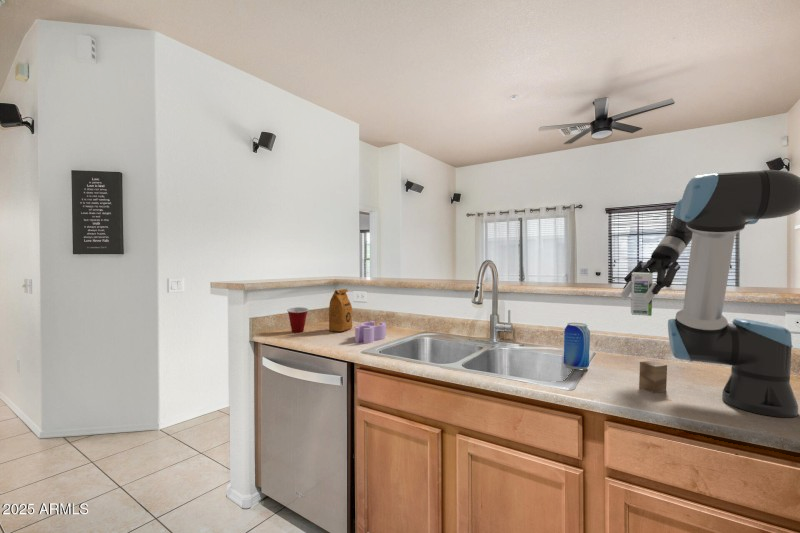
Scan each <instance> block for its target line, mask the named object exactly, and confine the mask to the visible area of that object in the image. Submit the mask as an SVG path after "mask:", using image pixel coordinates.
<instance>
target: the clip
mask: <svg viewBox="0 0 800 533" xmlns="http://www.w3.org/2000/svg"><path fill="white" fill-rule="evenodd" d="M354 328H355V332H354V336H355V337H354V340H355V341H354V343H356V344H359V343H360V342H361V341H363V344H365V345H366V344H371V343H373V342H375V341H382V340H383V341H384V340H385V339H386V336H387V322H386V321H383V322H382V321H380V323H379V325H376V321H373V320H371V321H364V322H360V323H359V325H356V326H355V327H354Z"/></svg>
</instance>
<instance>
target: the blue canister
mask: <svg viewBox="0 0 800 533" xmlns="http://www.w3.org/2000/svg"><path fill="white" fill-rule="evenodd" d="M590 334H591V331H590V329H589V327H588V324H586V323H583V322H582V323H580V322H567V324H566V326H565V327H564V339H563V364H564V365H565V368H567V369H570V370H574V369H583V370H582V371H586V370H587V369H588V368H589V367H590V342H591V339H590V338H591V335H590Z"/></svg>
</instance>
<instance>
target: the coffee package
mask: <svg viewBox="0 0 800 533" xmlns="http://www.w3.org/2000/svg"><path fill="white" fill-rule="evenodd" d="M348 292H349V290H348V288H343V289H335V290H334V291H333V294H332V296H331V297H330V300H329V307H328V331H329V332H338V333H339V332H345V331H349V330H351V329H353V306H352V303H351V301H350V299H349V298H348V294H347V293H348Z"/></svg>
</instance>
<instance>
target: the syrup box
mask: <svg viewBox="0 0 800 533" xmlns="http://www.w3.org/2000/svg"><path fill="white" fill-rule="evenodd" d="M653 278H654V274H653V273H639V272H633V273H632V280H631V293H630V313H631V315H635V316H648V317H652V314H653V312H652V310H653V299H652V300H651V301H650V303H647V302H646V300H645V299H644V295H645V294H646V292H647V291H648V290H649V288H650V287H651V285H652V284H653V283H654V282H653Z"/></svg>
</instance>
